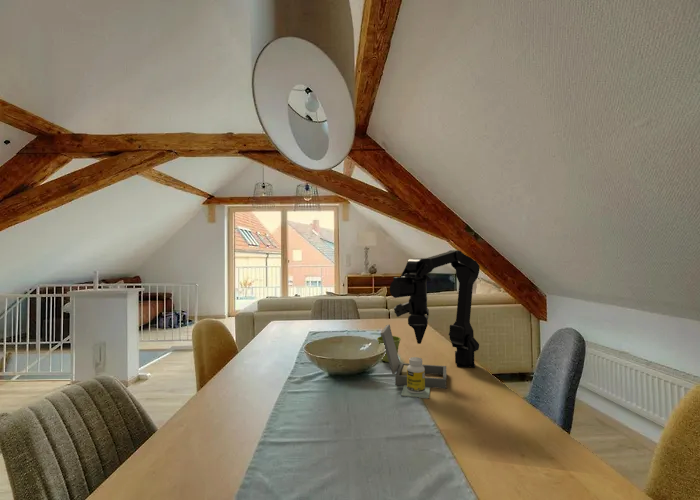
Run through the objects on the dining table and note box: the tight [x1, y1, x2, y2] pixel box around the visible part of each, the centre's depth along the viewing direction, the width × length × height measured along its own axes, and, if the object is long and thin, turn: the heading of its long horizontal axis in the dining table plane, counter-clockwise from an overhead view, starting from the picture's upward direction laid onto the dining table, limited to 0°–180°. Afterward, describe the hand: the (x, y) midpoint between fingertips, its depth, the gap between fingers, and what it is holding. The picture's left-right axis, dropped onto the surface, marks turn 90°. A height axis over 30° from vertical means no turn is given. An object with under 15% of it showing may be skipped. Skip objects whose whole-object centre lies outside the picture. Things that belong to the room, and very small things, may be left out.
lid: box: [380, 324, 401, 375], centre depth 126 cm, size 14×13×1 cm
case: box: [394, 362, 447, 389], centre depth 123 cm, size 16×14×3 cm
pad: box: [401, 385, 431, 399], centre depth 112 cm, size 8×8×1 cm
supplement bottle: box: [407, 356, 426, 394], centre depth 112 cm, size 5×5×10 cm
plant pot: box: [376, 335, 402, 363], centre depth 145 cm, size 9×9×9 cm
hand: (419, 340), depth 126 cm, fingers open, 9 cm apart
